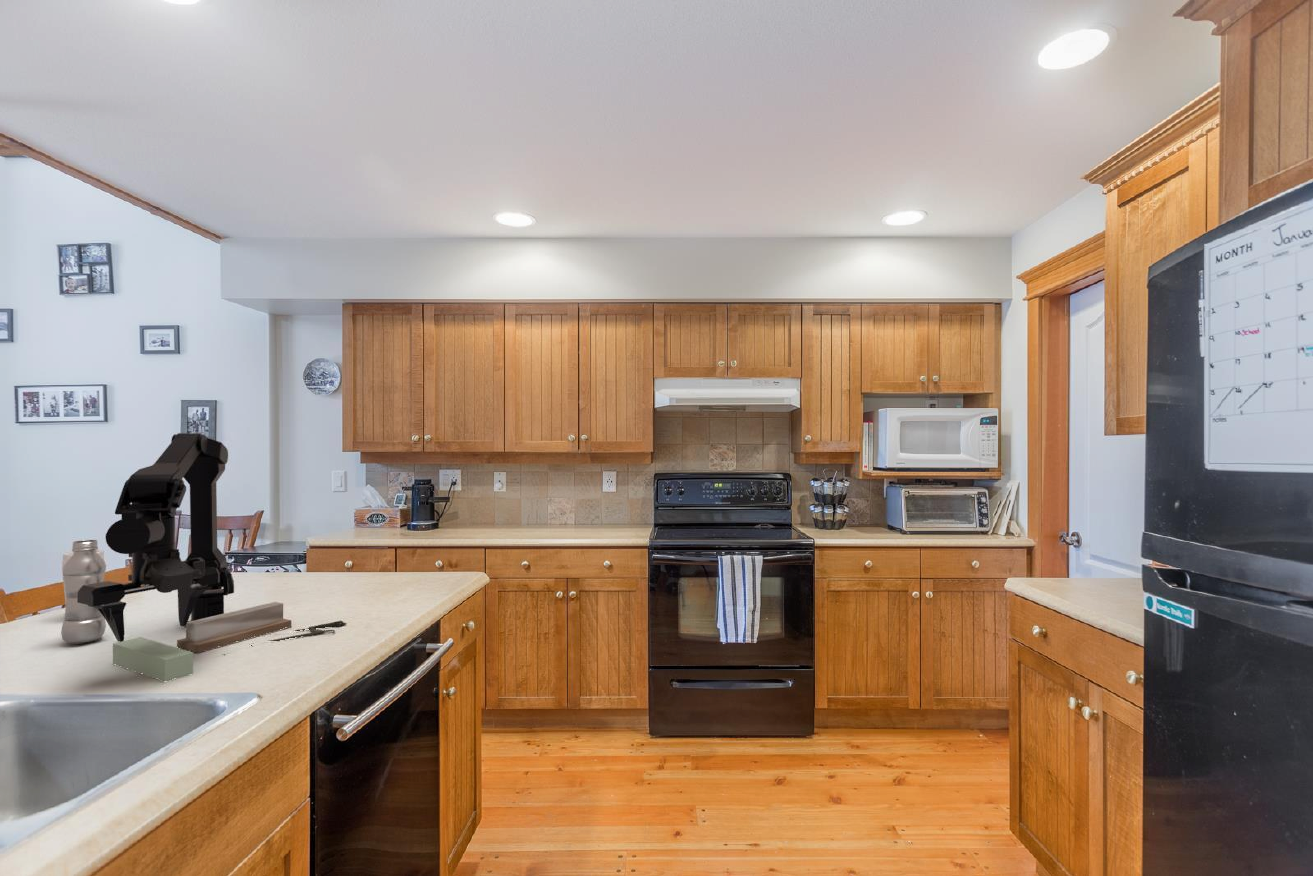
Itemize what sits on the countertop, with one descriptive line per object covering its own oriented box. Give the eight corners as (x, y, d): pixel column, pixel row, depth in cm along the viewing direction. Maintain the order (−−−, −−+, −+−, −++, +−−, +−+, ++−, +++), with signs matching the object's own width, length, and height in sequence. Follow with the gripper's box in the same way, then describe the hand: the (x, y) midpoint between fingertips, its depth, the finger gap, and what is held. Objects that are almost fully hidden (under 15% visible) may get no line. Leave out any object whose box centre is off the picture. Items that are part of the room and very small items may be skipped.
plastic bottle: (67, 650, 115) (68, 545, 115) (55, 643, 118) (57, 541, 118) (111, 640, 120) (112, 540, 120) (99, 635, 124) (100, 537, 124)
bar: (112, 666, 107) (112, 643, 107) (139, 658, 111) (140, 637, 111) (165, 684, 99) (165, 659, 99) (192, 676, 103) (193, 652, 103)
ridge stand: (176, 647, 116) (177, 621, 116) (270, 623, 132) (270, 600, 132) (198, 653, 113) (198, 626, 113) (291, 627, 129) (291, 603, 129)
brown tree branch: (345, 625, 132) (345, 619, 132) (351, 638, 124) (351, 631, 124) (209, 645, 119) (209, 638, 119) (205, 661, 110) (205, 653, 110)
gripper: (111, 557, 94) (110, 657, 93) (238, 540, 110) (237, 625, 110) (76, 551, 98) (75, 647, 98) (202, 536, 115) (201, 617, 115)
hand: (152, 633), depth 105 cm, fingers open, 9 cm apart
